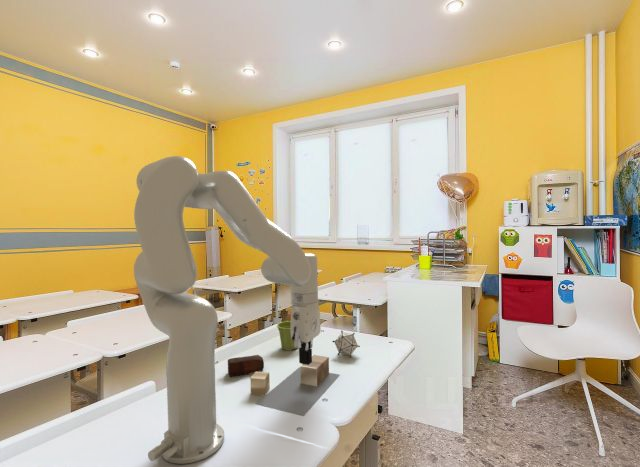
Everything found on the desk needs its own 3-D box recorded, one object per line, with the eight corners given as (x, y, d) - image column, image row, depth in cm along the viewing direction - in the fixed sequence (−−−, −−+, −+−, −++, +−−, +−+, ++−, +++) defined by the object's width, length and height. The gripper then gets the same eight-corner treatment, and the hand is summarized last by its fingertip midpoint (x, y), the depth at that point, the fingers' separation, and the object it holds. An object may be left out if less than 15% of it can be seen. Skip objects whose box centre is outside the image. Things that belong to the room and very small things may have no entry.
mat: (303, 417, 82) (303, 415, 82) (255, 405, 88) (255, 403, 88) (340, 375, 104) (340, 374, 104) (299, 368, 110) (299, 367, 110)
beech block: (265, 397, 92) (264, 378, 92) (250, 396, 93) (250, 378, 93) (269, 389, 96) (269, 372, 96) (256, 389, 97) (255, 371, 97)
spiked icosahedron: (351, 364, 121) (368, 342, 120) (340, 364, 114) (358, 340, 114) (335, 346, 126) (351, 325, 126) (323, 345, 120) (340, 322, 119)
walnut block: (316, 368, 97) (328, 357, 105) (300, 366, 99) (313, 354, 107) (316, 386, 97) (329, 373, 105) (300, 383, 99) (314, 370, 107)
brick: (229, 378, 104) (229, 363, 104) (227, 373, 108) (227, 358, 107) (264, 372, 108) (263, 357, 108) (261, 367, 111) (261, 353, 111)
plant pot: (281, 342, 134) (281, 320, 134) (305, 343, 132) (304, 321, 132) (273, 351, 125) (273, 327, 125) (298, 352, 123) (298, 328, 123)
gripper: (304, 305, 87) (305, 376, 88) (327, 293, 101) (328, 355, 101) (278, 302, 90) (280, 371, 91) (304, 291, 104) (305, 351, 105)
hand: (305, 362), depth 96 cm, fingers closed
